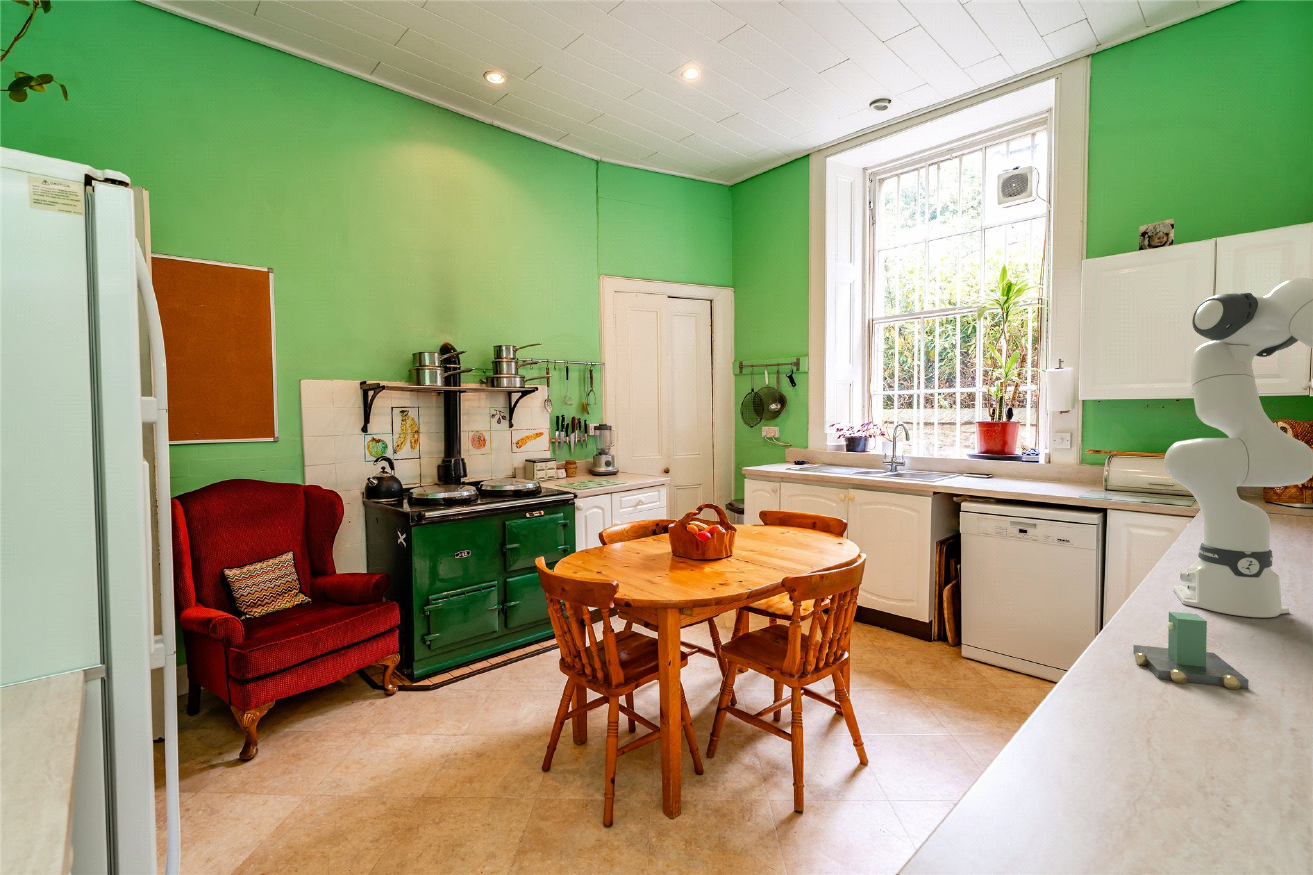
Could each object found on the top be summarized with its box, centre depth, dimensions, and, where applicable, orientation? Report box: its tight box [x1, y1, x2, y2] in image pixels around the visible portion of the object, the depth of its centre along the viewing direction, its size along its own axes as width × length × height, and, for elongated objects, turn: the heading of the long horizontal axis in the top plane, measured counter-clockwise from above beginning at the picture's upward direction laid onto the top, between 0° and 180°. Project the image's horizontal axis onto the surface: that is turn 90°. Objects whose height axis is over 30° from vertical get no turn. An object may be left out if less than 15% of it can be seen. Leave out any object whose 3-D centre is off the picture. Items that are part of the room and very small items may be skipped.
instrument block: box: [1167, 611, 1208, 667], centre depth 108 cm, size 4×5×8 cm
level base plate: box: [1132, 644, 1249, 691], centre depth 108 cm, size 13×13×2 cm
